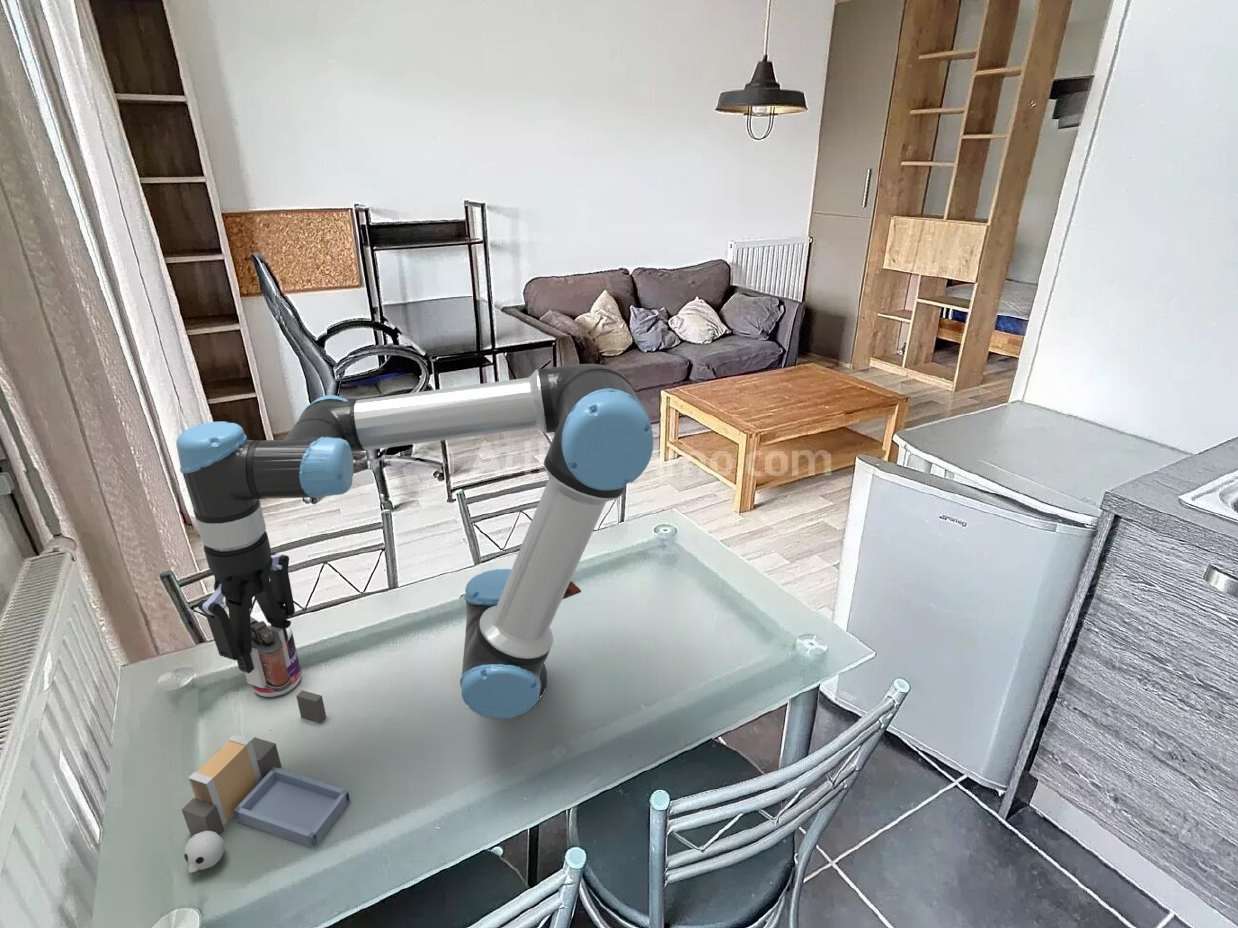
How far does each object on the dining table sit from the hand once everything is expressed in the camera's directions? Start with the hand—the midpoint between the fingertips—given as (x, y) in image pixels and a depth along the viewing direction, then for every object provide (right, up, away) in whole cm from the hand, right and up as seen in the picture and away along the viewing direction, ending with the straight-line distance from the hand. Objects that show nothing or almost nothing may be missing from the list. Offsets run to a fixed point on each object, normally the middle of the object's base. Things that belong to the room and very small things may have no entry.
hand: (269, 672), depth 100 cm
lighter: (0, -1, 0) cm, 1 cm away
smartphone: (+35, +1, +50) cm, 61 cm away
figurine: (-5, -24, -7) cm, 26 cm away
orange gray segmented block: (-4, -17, +7) cm, 19 cm away
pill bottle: (-11, -9, +24) cm, 27 cm away
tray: (+4, -21, 0) cm, 21 cm away
